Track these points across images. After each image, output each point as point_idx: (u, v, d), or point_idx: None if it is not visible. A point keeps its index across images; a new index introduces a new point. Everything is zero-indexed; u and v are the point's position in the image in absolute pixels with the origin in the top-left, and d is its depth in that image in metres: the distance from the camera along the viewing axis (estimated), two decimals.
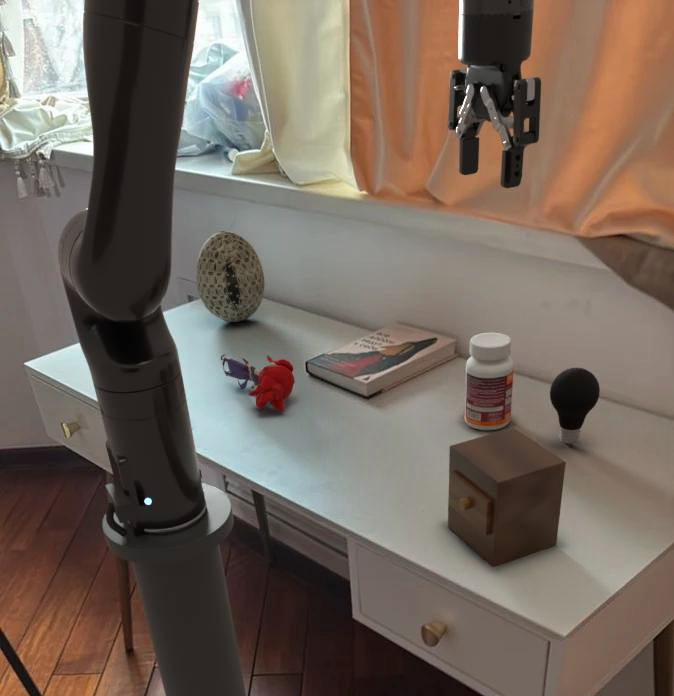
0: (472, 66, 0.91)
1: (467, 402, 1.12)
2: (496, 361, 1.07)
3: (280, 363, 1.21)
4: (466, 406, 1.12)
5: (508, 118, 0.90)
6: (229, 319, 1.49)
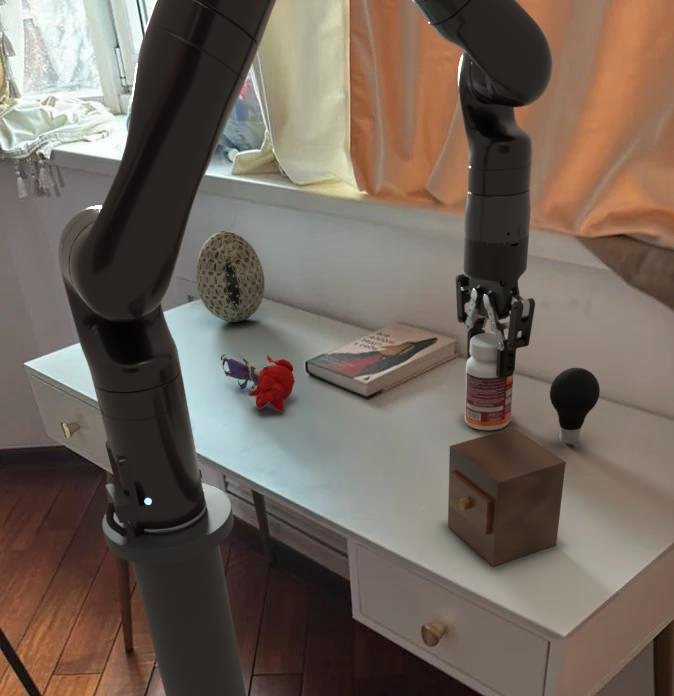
0: None
1: (467, 402, 1.12)
2: (496, 361, 1.07)
3: (280, 363, 1.21)
4: (466, 406, 1.12)
5: (504, 324, 1.03)
6: (229, 319, 1.49)
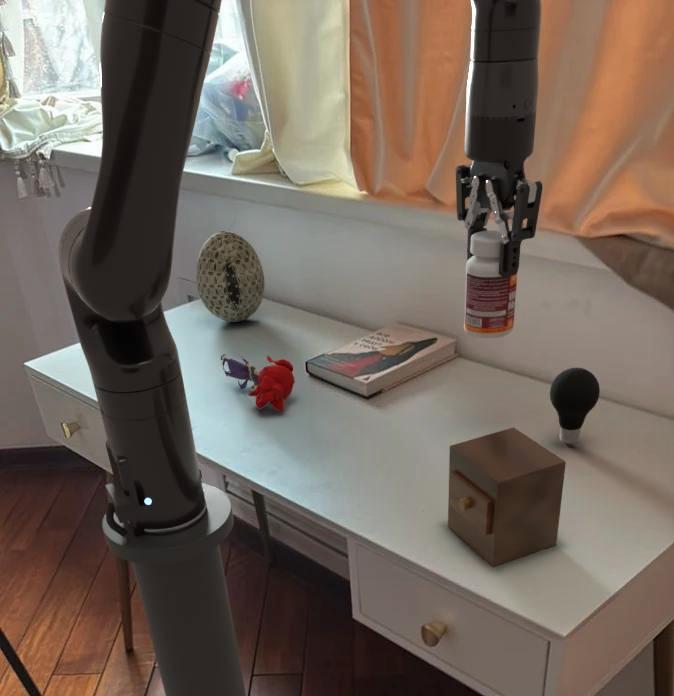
0: None
1: (467, 307, 1.03)
2: None
3: (280, 363, 1.21)
4: (466, 312, 1.04)
5: (508, 213, 0.95)
6: (229, 319, 1.49)
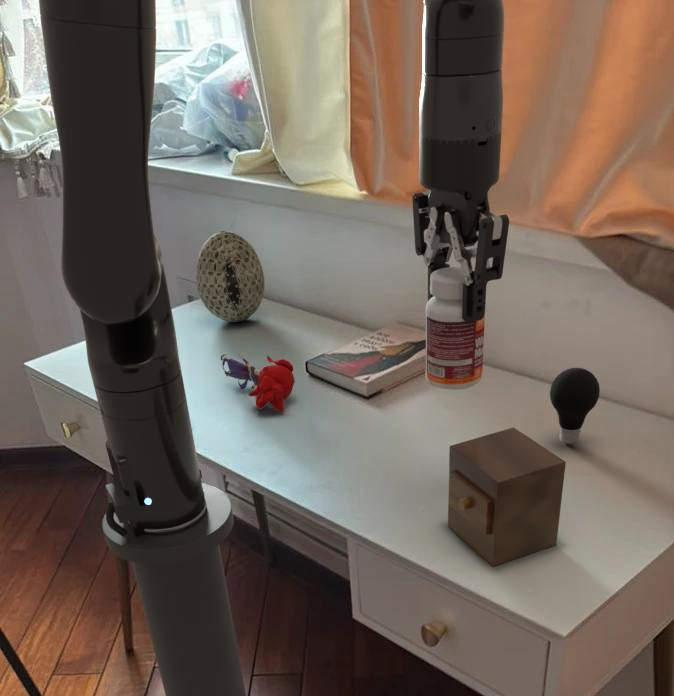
0: None
1: (428, 354, 0.90)
2: None
3: (280, 363, 1.21)
4: (427, 360, 0.91)
5: (471, 251, 0.81)
6: (229, 319, 1.49)
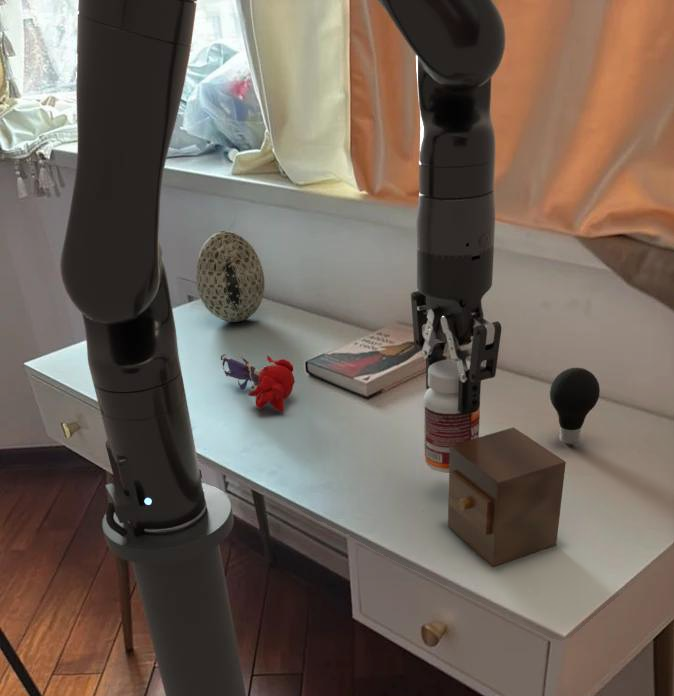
0: None
1: (426, 440, 0.95)
2: None
3: (280, 363, 1.21)
4: (425, 445, 0.96)
5: (466, 351, 0.86)
6: (229, 319, 1.49)
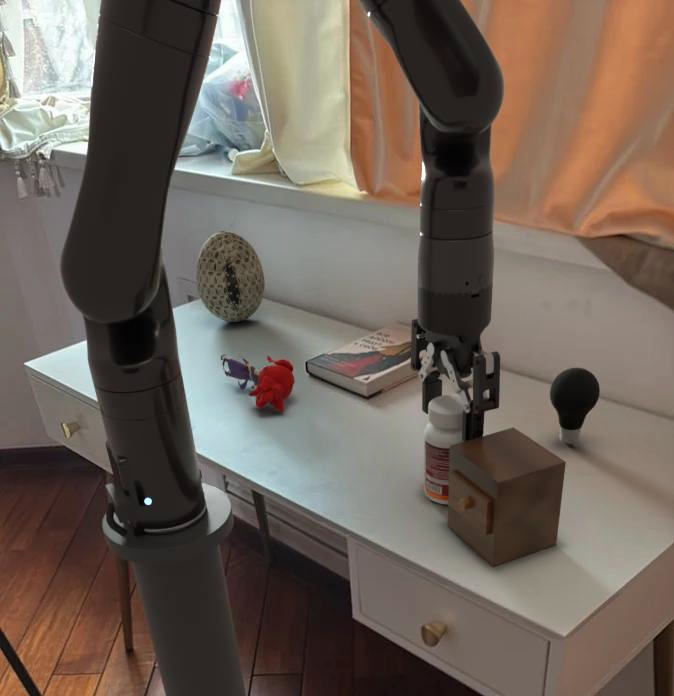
0: None
1: (426, 473, 0.98)
2: (458, 429, 0.93)
3: (280, 363, 1.21)
4: (426, 477, 0.98)
5: (468, 382, 0.88)
6: (229, 319, 1.49)
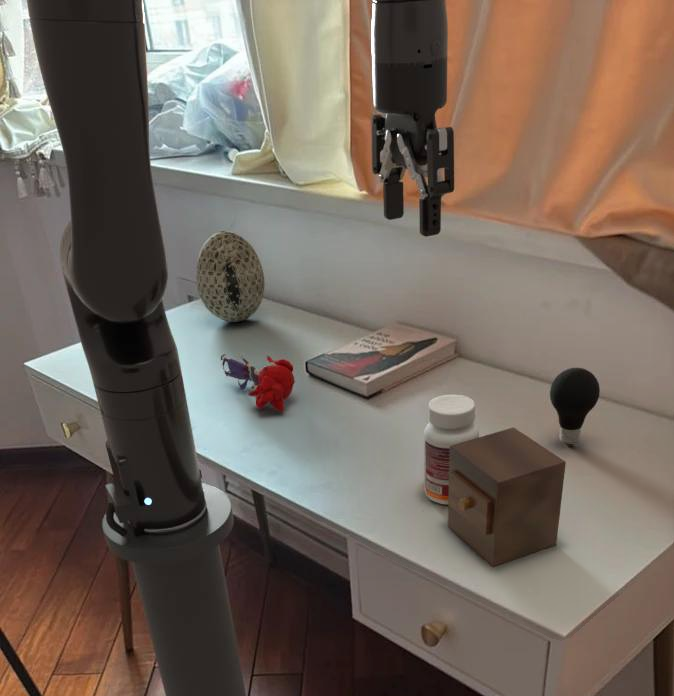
0: None
1: (426, 473, 0.98)
2: (458, 429, 0.93)
3: (280, 363, 1.21)
4: (426, 477, 0.98)
5: (424, 167, 0.88)
6: (229, 319, 1.49)
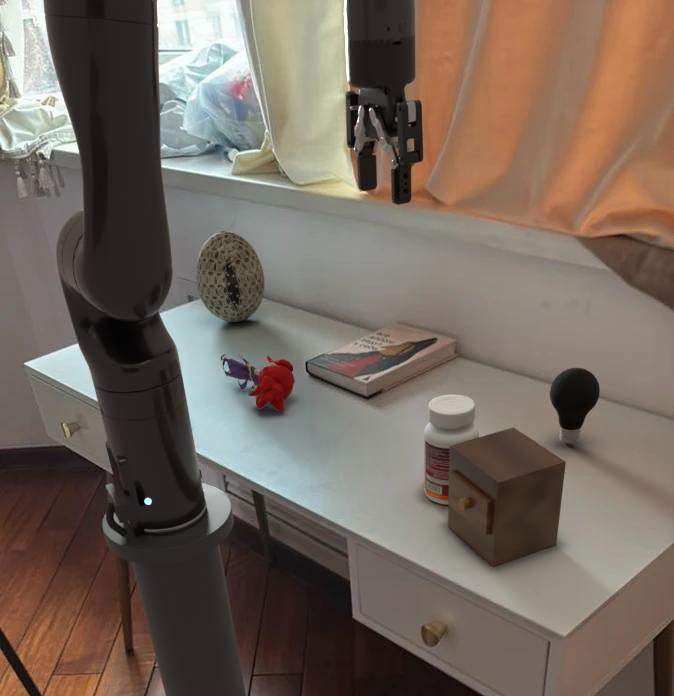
0: (362, 88, 0.95)
1: (426, 473, 0.98)
2: (458, 429, 0.93)
3: (280, 363, 1.21)
4: (426, 477, 0.98)
5: (395, 138, 0.94)
6: (229, 319, 1.49)
